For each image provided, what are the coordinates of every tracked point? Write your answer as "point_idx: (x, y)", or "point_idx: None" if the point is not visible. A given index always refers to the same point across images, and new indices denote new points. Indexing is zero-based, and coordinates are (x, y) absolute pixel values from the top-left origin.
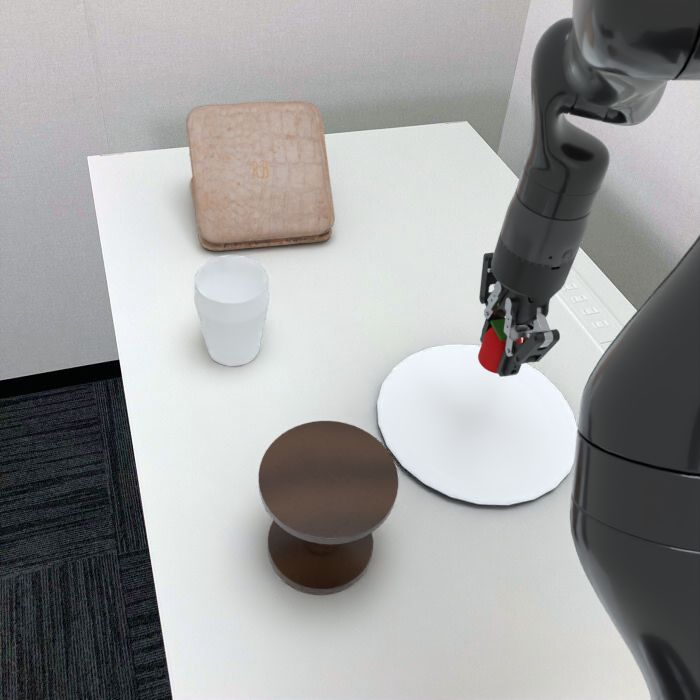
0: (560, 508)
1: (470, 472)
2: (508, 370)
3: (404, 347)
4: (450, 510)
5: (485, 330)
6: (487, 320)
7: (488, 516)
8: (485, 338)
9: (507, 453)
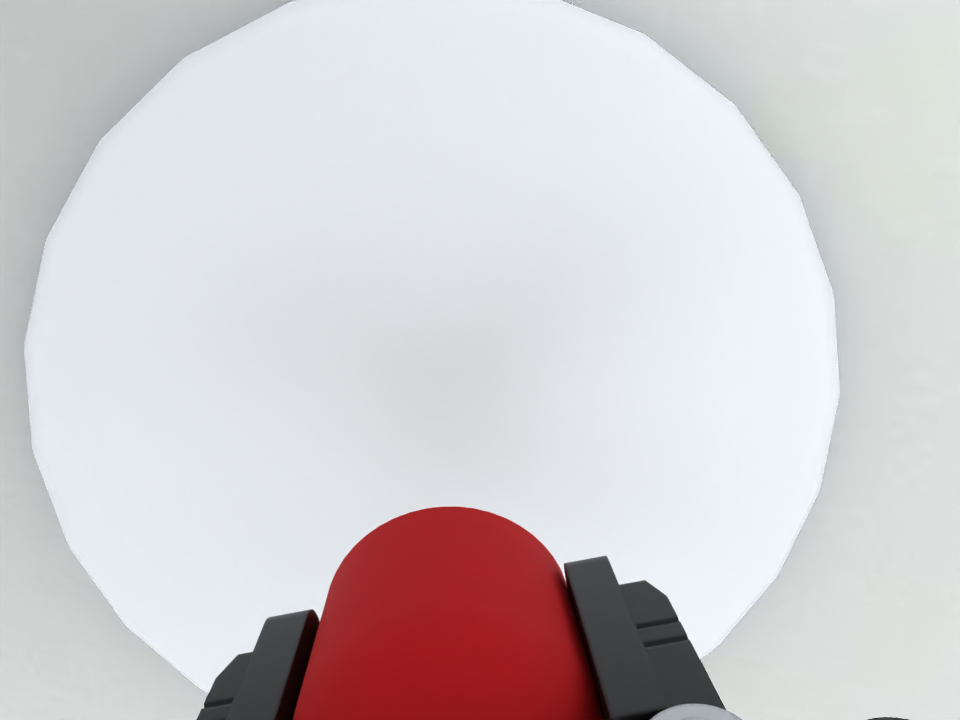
0: (76, 617)
1: (192, 344)
2: (199, 714)
3: (861, 187)
4: (26, 236)
5: (600, 641)
6: (646, 712)
7: (15, 372)
8: (464, 635)
9: (286, 496)
